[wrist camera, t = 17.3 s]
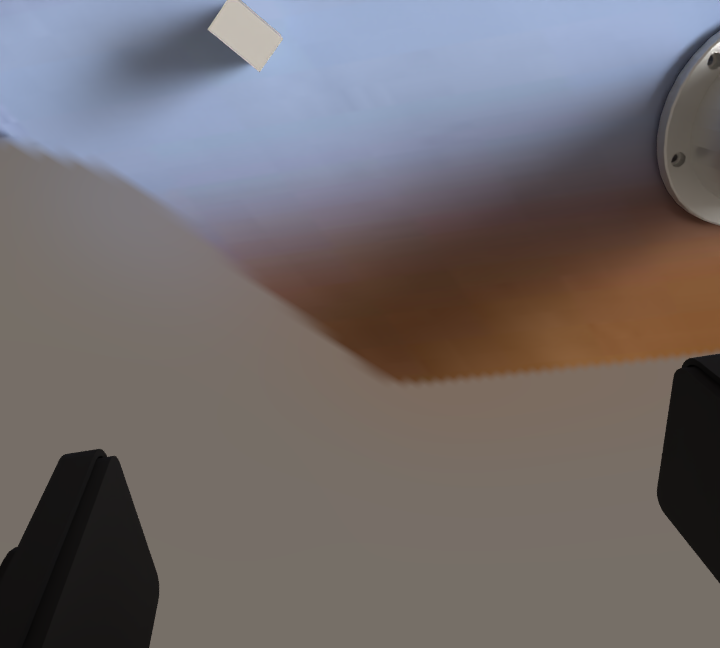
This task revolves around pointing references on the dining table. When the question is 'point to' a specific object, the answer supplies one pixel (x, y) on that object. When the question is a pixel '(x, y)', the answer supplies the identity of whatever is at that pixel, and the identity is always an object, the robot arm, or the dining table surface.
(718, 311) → the dining table surface
